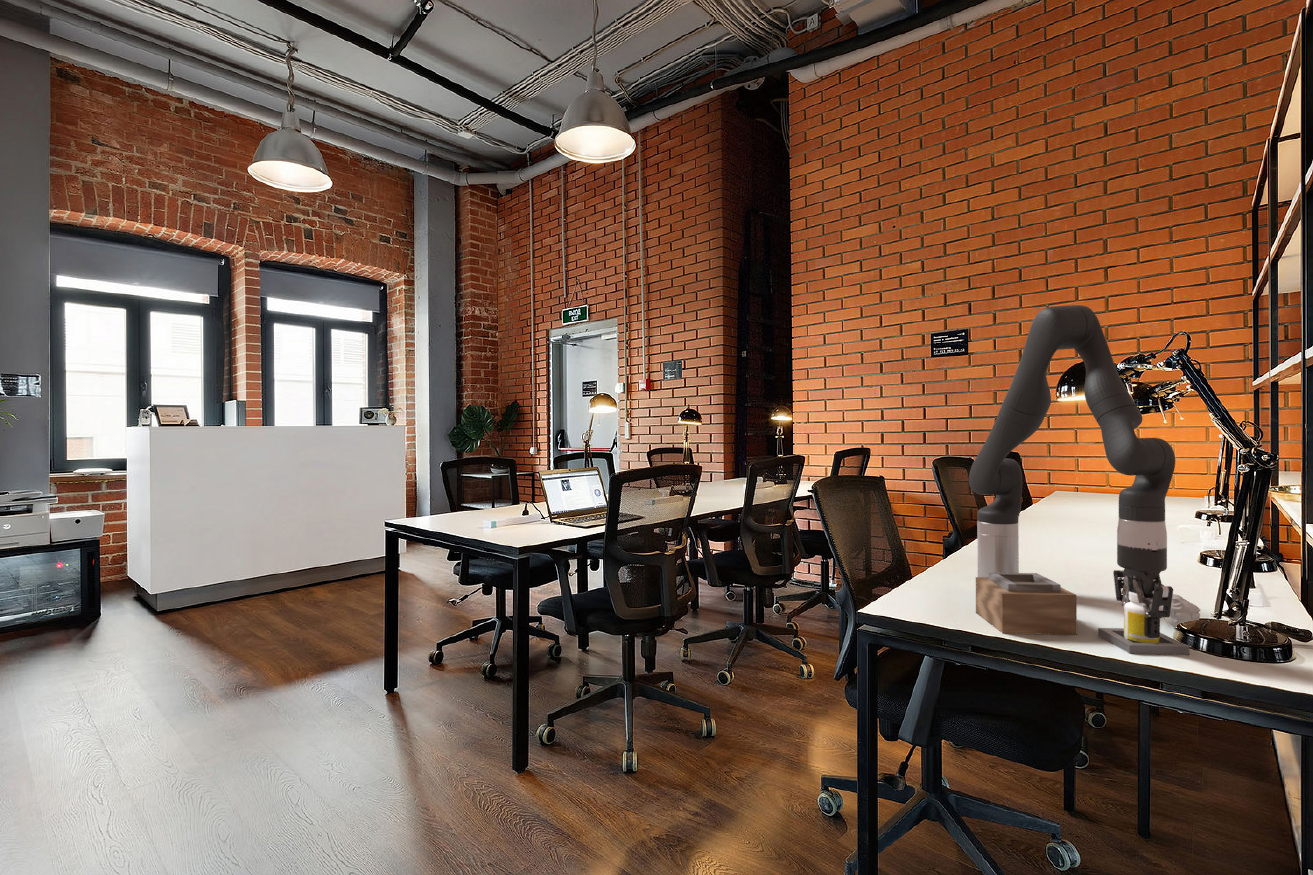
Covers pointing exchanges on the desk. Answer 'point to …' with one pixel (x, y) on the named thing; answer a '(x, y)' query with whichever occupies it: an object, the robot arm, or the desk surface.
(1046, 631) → the walnut stand
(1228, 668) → the desk surface
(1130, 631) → the supplement bottle
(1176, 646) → the frame
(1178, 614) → the frog figurine
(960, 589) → the desk surface
